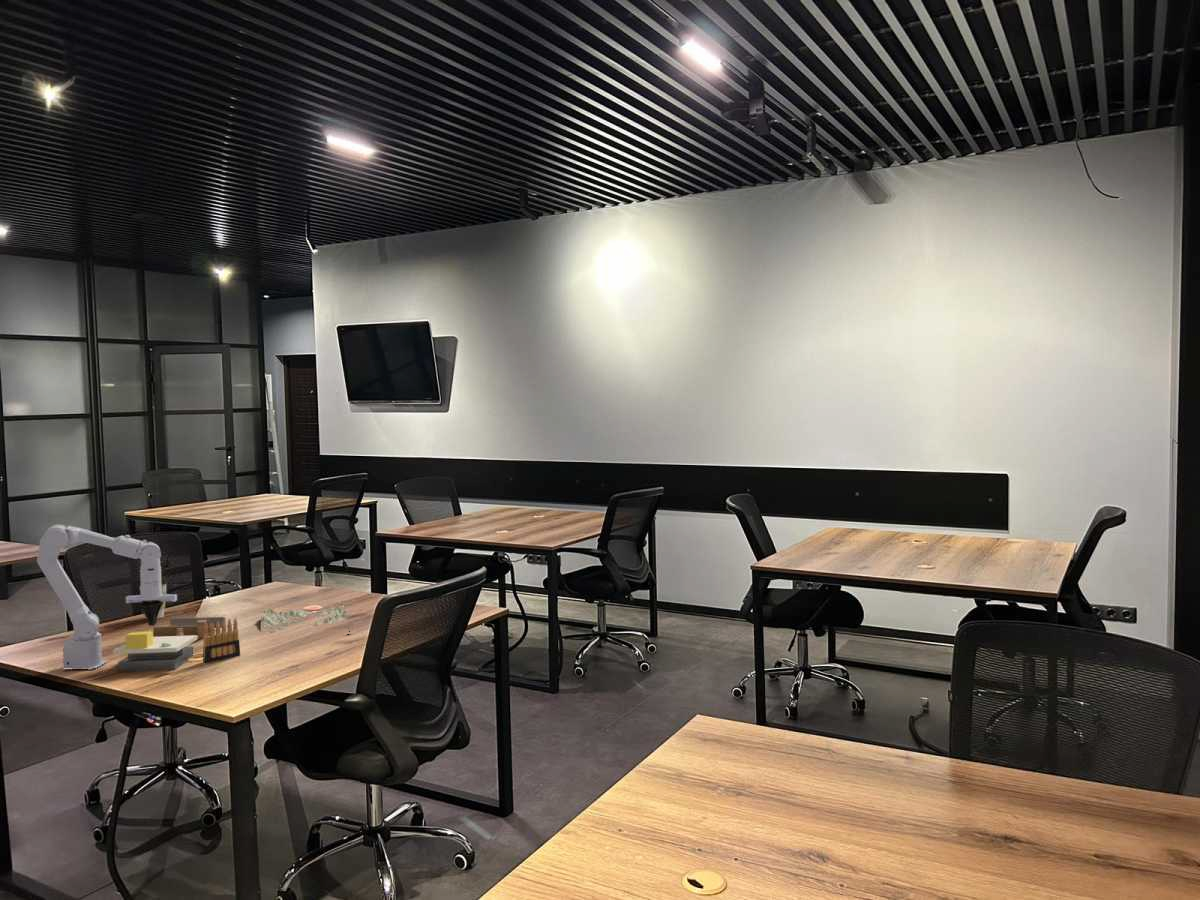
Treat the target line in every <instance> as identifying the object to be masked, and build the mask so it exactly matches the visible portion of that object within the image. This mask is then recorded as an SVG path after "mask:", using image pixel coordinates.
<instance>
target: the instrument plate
mask: <svg viewBox="0 0 1200 900" xmlns="http://www.w3.org/2000/svg"><path fill="white" fill-rule="evenodd" d="M197 640H198V637H197V635H191V636H183V635H180V636H162V637H154V636H153V630H151V631H150V630H149V631H148V630H146V631H131V632H129V633H127V634H125V643H123V644H121V645H120V646H118V647H115V648H114V649H112V655H125V654H126V655H128V654H131V653H158V652H177V651H179V650H180V649H182V648H184V647H188V646H189V645H190V644H192V643H193V642H195V641H197Z"/></svg>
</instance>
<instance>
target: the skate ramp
mask: <svg viewBox="0 0 1200 900" xmlns="http://www.w3.org/2000/svg"><path fill="white" fill-rule="evenodd" d="M223 620H224V621H225V625H226V614H223V613H222V614H215V613H214V614H211V616H209V614H206V616H198V614H195V616H191V615H188V616H187V617H184V614H181V615H174V614H172V615H170V620H169V621H170V622H169V623H170V624H169V625H165V626H155V625H153V627H152V629H153V630H152V631H153V637H162V636H178V635H180V636H181V634H180V633H179V630H178V628H179V629H180V628H183V630H182V633H183V634H182V636H191V635H197V636H198V637H197V639H204V628H205V624H206V623H207V625H208V631H209V636H210V626H211V623H213V625H214V628H216V624H217V621H218V622H219V624H220V628H222V622H223ZM226 626H227V625H226Z"/></svg>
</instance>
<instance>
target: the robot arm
mask: <svg viewBox="0 0 1200 900" xmlns="http://www.w3.org/2000/svg"><path fill="white" fill-rule="evenodd" d="M68 542H69V545H74V544H78V543H85V544H86V543H87V544H91V545H95V546H99V547H105V548H108V549H111V551H112V553H113V554H115V555H119V556H121V557H122V556H123V557H127V558H131V559H135V560H137V559H140V566H141V567H140V568H139V569H140V570H139V572H140V574H139V575H140V578H139V579H140V580H141V595H140V594H139V595H127V596H125V604H131V603H140V605H139V607H140V609H141V610H142V612H143V615H144V614H145V616H146V618H147V620H146V621H147V624H148V626H150V627H151V626H156V625H157V621H158V620H157V616H158V613H159V611H160V608H161V606H162V604H163V602H165V603H166V602H172V603H173V602H176V601H178V594H175V593H174V594H173V593H172V594H171V593H170V594H169V593H166V594H162V586H161V577H162V567H161V556H162V551H161V548H160V547H159V545H158V544H156V543H155V542H153V541H148V542H147V539H146V540H145V539H143V540H139V539H135V538H132V537H131V535H129V534H125V535H119V536H117V537H111V536H108V535H105V534H103V533H98V532H94V531H93V530H92V531H91V530H88V529H85V528H82V527H77V526H73V525H64V524H61V523H60V524H59V523H58V524H54V525H51V526H49V527H48V528H47V529H46V531H45V532H44V534H43V535H42V537H41V539H40V540H39V546H38V553H37V557H36V558H37V559H36V563H37V565H38V567H39V568H40V570H41V571H42V573H43V575H44V576H45V578H46V580H47V581H48V583H49V585H50V586H51V588H52V589H53V590H54V593H55V594H56V596H57V598H58V599H59V600H60V602H61V604H62V606H63V607H64V608H65V610H66V612H67V614H68V616H69V619H70V622H71V623H72V626H73V634H74V635H73V636H72V637H69V638H66V640H65V641H64V643H63V647H62V657H63V668H72V669H73V668H74V669H76V668H77V669H82V668H83V669H84V668H96V669H98V668H100V667H101V666H103V665H104V663H105V664H106V663H108V662H109V661H108V659H107V660H105V659H103V657H102V656H103V655H102V633H100V631H99V625H100V618H99V616H98V615H97V614H96V613H93V612H92V611H91V610H90V608H89V607H88V606H87V604H85V602H84V601H83V599H82V597H81V596H80V594H79V593H78V591H77V589H76V587H75V586H74V584H73V582H72V581H71V580H70V578H69V576H68V575H67V573H66V571H65V570H64V568H63V566H62V565H61V563H60V561H59V555H60V553H61V551H62V549H64V547H65V546H66V545H67V544H68ZM107 661H108V662H107ZM102 664H103V665H102ZM99 666H100V667H99ZM97 667H98V668H97Z"/></svg>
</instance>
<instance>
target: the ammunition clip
mask: <svg viewBox="0 0 1200 900" xmlns="http://www.w3.org/2000/svg"><path fill="white" fill-rule="evenodd" d="M225 622H226V620H225V621H224V620H223V622H222V629H220V624H219V622H218V621H217V624H216V629H214V625H213V623H211V626H210V637H209V631H208V625H207V623H206V624H205V628H204V638H203V648H202V649H203V650H202V651H203V652H202V653H203V654H202V662H203V663H205V664H208V663H212V661H213V662H217V660H218V661H222V660H226V658H227V659H230V657H232V658H236V657H235V656H237V657H241V646H240V639H239V629H238V620H237V619H236V617H235V618H234V619H233V623H232V621H231V619H230V618H229V619H228V621H227V625H225ZM232 624H233V625H232ZM226 626H227V627H226Z"/></svg>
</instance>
